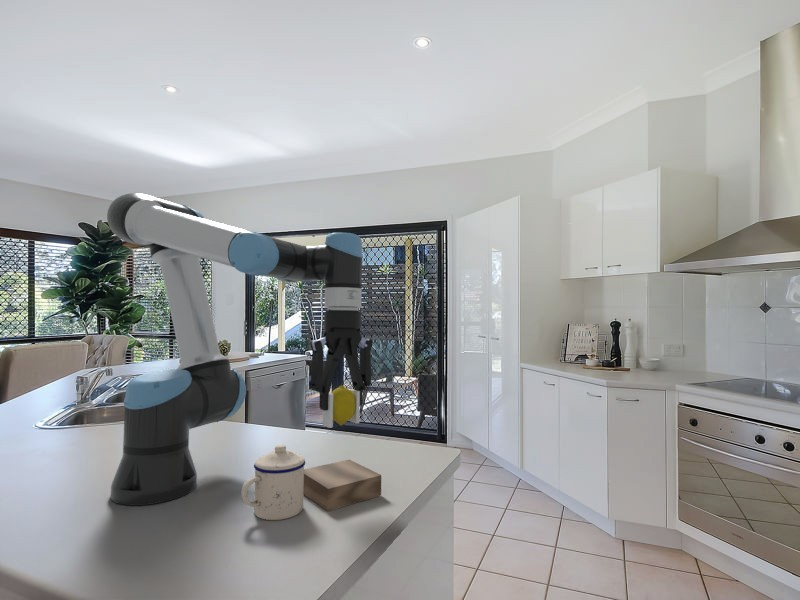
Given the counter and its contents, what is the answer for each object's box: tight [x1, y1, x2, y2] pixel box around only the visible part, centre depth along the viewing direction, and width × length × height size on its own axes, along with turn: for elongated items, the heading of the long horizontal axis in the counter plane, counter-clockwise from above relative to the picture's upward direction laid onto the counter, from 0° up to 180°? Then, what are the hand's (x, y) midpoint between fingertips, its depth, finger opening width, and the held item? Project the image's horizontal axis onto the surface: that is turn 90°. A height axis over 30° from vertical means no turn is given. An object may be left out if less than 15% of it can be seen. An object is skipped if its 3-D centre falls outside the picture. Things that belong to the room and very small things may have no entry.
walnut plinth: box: [303, 459, 382, 512], centre depth 90 cm, size 12×12×4 cm
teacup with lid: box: [240, 444, 306, 521], centre depth 80 cm, size 12×9×12 cm
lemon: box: [330, 385, 355, 426], centre depth 90 cm, size 6×6×8 cm
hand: (341, 423), depth 90 cm, fingers closed on lemon, 5 cm apart
